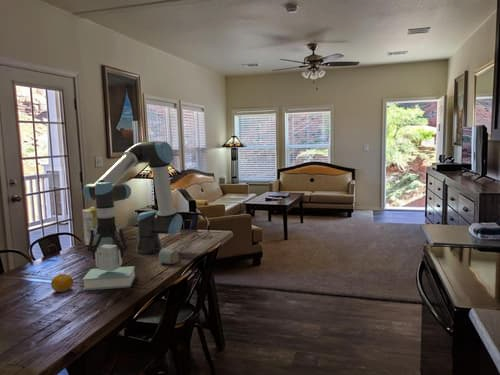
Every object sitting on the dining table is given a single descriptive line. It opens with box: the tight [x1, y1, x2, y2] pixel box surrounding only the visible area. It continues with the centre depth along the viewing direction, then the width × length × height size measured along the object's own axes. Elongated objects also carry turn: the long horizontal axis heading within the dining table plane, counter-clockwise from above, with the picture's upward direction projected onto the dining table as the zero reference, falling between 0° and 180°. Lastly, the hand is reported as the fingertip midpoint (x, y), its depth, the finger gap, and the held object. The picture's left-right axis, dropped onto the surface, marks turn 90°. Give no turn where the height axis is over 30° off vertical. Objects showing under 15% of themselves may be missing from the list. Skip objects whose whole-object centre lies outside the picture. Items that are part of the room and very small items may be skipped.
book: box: [82, 265, 136, 291], centre depth 177 cm, size 14×20×5 cm
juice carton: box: [82, 206, 98, 247], centre depth 246 cm, size 9×8×24 cm
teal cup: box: [95, 232, 113, 247], centre depth 228 cm, size 10×10×12 cm
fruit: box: [50, 273, 74, 293], centre depth 169 cm, size 8×8×8 cm
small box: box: [96, 244, 121, 271], centre depth 175 cm, size 8×6×10 cm
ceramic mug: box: [158, 247, 180, 265], centre depth 205 cm, size 11×8×8 cm
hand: (109, 265), depth 176 cm, fingers closed on small box, 9 cm apart
